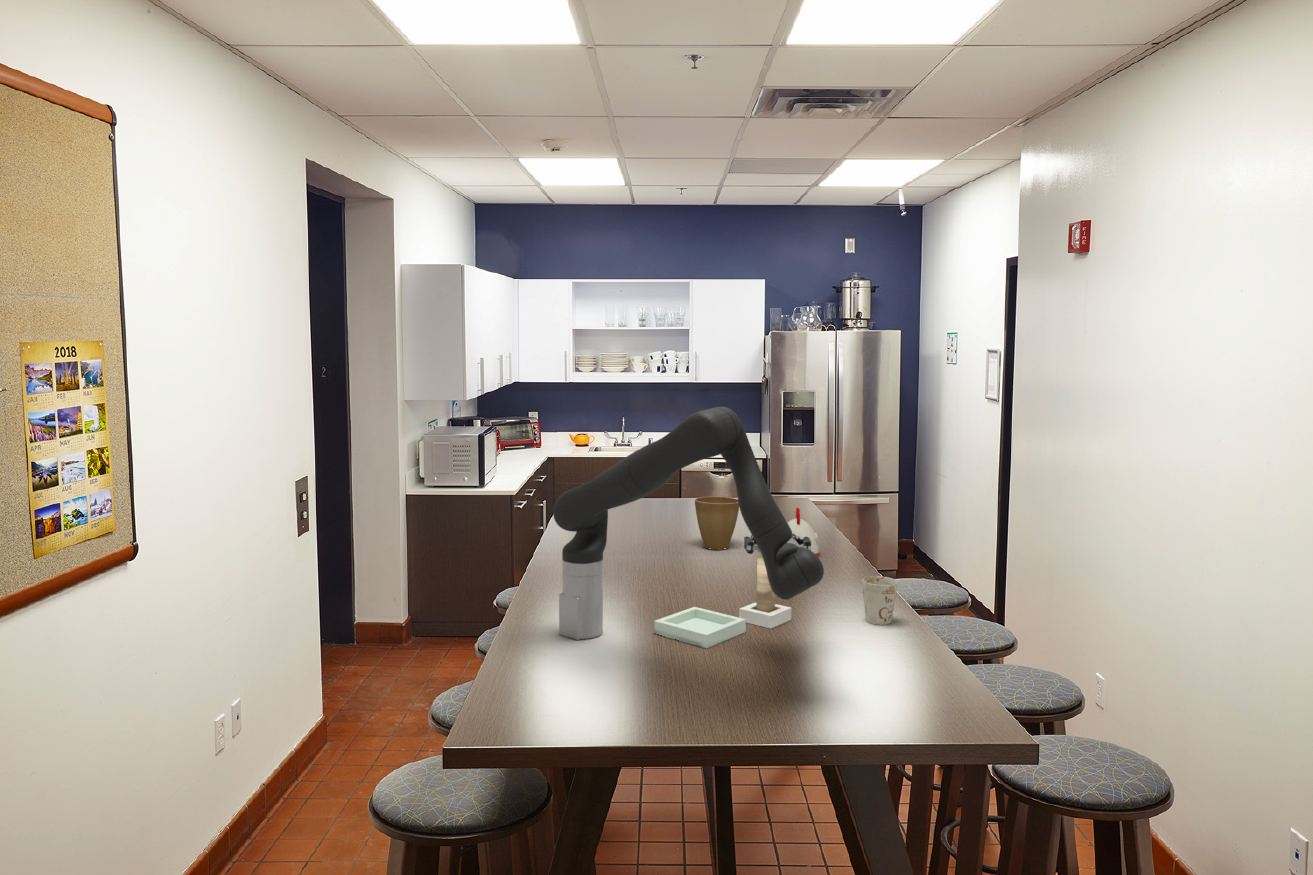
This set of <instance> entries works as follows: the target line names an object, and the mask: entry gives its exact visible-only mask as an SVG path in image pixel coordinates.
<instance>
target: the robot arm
mask: <svg viewBox="0 0 1313 875" xmlns="http://www.w3.org/2000/svg"><path fill="white" fill-rule="evenodd" d="M748 438H749V437H748V436H747V433H746V430H745V428H744V425H743V423H742V421H741V419H740V417H739V416H738V414H737V413H736V412H735V411H733V409H731V408H730V407H726V406H715V407H711V408H707V409H703V410H699V411H696V412H694V413H692V414H691V415H689V416H688V417H686V418H685V419H684V420H683V421H682V422H680V424H678V425H677V426H676V427H674V428H673V429H672V430H671V431H670V432H668V433H667V434H666V435H664V436H663V437H661V438H660V439H658V440H656V441H653V442H650V443H648V444H647V445H645V446H642V447H641V448H640V449H637V450H635V451H634V452H632V453H630V454H629V455H627V456H626V457H624V458H622V459H620V460H619V461H618V462H616V463H615V464H613V465H612V466H610V467H608V468H607V469H606V470H604V471H602V472H601V473H599V474H598V475H597V476H595V477H594V478H593V479H591V480H589V481H587V482H585V483H583V484H581V485H579V486H576V487H574V488H571V489H569V490H567V491H564V492H562V494H560V495H559V496H558V497H557V499H556V501H555V503H554V506H553V510H552V514H553V519H554V521H555V523H556V525H557V526H558V527H559V528H561V529H562V530H564V531H567V532H575V534H574V536H573V538H572V539H571V540H570V541H568V542H567V543H566V544H564V546H563V548H562V552H561V553H562V554H561V556H562V557H561V558H562V562H561V564H562V565H561V566H562V568H561V570H562V572H561V573H562V574H561V577H562V578H561V579H562V584H561V585H562V586H561V587H562V588H561V589H562V590H561V591H562V592H560V593H559V594H558V625H559V626H558V634H559V635H560V636H563V637H567V638H570V639H574V640H576V641H579V640H582V639H583V640H584V639H585V640H586V639H594V638H596V637H599V636H601V635H602V634H603V632H604V622H603V620H604V594H603V593H604V576H603V575H604V552H605V549H606V546H607V540H608V520H609V513H608V511H609V510H611V509H615V508H619V507H622V506H625V505H627V504H630V503H634V502H636V501H638V500H641V499H643V498H644V497H646V496H648V495H650V494H652V493H654V492H655V491H658V490H659V489H661V488H662V487H663V486H665V484H667V483H669V481H670V480H671V478H672V477H673V476H674V475H675V474H676V473H677V472H678V471H680V470H681V469H684V468H686V467H687V466H690V465H692V464H694V463H697V462H700V461H703V460H705V459H710V458H714V457H716V456H719V455H720V456H721V457H722V458H723V460H724V461H725V463H726V464H727V466H728V467H729V469H730V472H731V474H732V477H733V479H734V480H733V481H734V483H735V488H736V494H737V495H736V496H737V499H738V502H739V511H740V514H741V517H742V518H743V521H744V523H745V525H746V527H747V528H748V531H749V532H750V534H751V535H750V536H747V535H746V536H744V537H743V539H744V540H743V543H744V546H743V549H744V550H745V552H746V553H747V554H749V555H751V554H754V552H755V551H758V552H759V553H761V557H763V560H764V563H765V567H766V571H767V576H768V580H769V584H770V587H771V589H772V591H773V592H774V594H775V597H778V598H780V599H782V600H785V601H787V600H790V599H792V598H794V597H796V596H799V594H802V593H803V592H805V591H807V590H809V589H810V588H812V587H815V586H817V585H818V584H819V583H820V582H821V581H822V579H823V578H824V574H825V570H824V565H823V562H822V561H821V559H820V557H817V555H816V554H814V553H813V552H812V551H811V541H810V539H809V537H803V539H800V537H799V536H796V535H795V534H792V531H791V528H790V527H789V525H788V522H787V520H786V517H785V516H784V514H783V513H782V511H781V508H780V507H779V506H778V504H777V502H776V501H775V499H774V497H773V495H772V493H771V491H770V489H769V487H768V485H767V483H766V481H765V478H764V476H763V473H762V471H761V469H760V466H759V463H758V461H757V459H756V456H755V454H754V451H753V449H752V446H751V443H750V441H749V439H748Z"/></svg>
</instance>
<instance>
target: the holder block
mask: <svg viewBox="0 0 1313 875" xmlns="http://www.w3.org/2000/svg"><path fill="white" fill-rule="evenodd" d="M792 610H793V609H792V607H790V606H786V605H781V604H777V603H775V611H772V612H770V613H767V612H763V611H759V610H756V601H755V602H753V603H750V604H747V605H745V606H743V607H740V608H739V614H738V618H742V619H746V624H751V625H755V626H759V627H763V628H766V629H773V628H776V627H778V626H780V625H783V624H785V623H787V622H790V621H792Z"/></svg>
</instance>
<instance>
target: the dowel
mask: <svg viewBox="0 0 1313 875" xmlns="http://www.w3.org/2000/svg"><path fill="white" fill-rule="evenodd" d="M756 564H757V565H756V601H755V602H756V610H759V611H763V612H767V613H770V612H772V611H775V604H776V595H775V594H774V592H773V591H772V589H771V587H770V584H769V580H768V576H767V571H766V567H765V563H764V560H763V557H762V556H761V557H758V558H757V560H756Z"/></svg>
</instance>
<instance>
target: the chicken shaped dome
mask: <svg viewBox="0 0 1313 875" xmlns="http://www.w3.org/2000/svg"><path fill="white" fill-rule="evenodd" d="M800 511H801V510H800V507H795V518H792V519H790V520H789V521H788V522H787V523H788V525H789V527H790V528H791V531H792V534H795V535H796V536H799V537H800V539H803V537H809V539H810V541H811V551H812V552H813V553H814V554H816V555H817V557H818V558H820V542H819V537H818V534H817V532H815V531H814V529H813V528H812V527H811V525H810V524H809V523H808V522H807V521H806V520H804V519H803V518H801V517H800V516H801V512H800Z"/></svg>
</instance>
